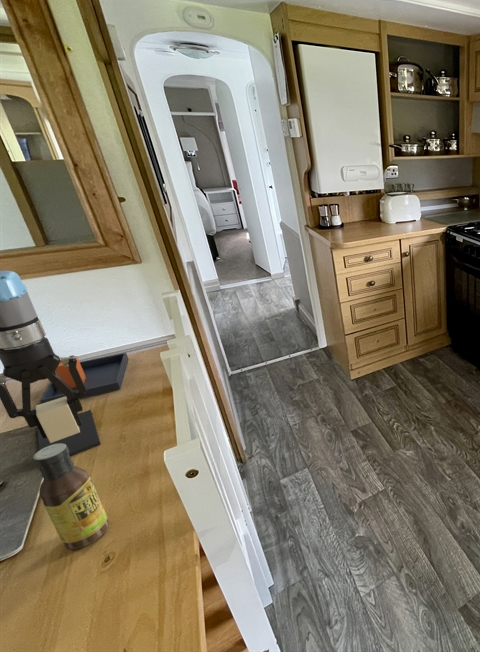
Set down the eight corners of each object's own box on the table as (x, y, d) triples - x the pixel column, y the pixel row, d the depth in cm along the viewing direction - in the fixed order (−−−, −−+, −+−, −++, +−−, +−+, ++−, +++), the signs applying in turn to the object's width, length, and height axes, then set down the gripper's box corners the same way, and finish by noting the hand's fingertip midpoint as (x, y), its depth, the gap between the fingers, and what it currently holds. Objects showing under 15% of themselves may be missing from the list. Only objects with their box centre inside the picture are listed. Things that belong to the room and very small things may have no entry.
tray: (63, 374, 120) (59, 366, 118) (129, 360, 128) (126, 352, 127) (44, 409, 104) (39, 400, 102) (121, 391, 112) (117, 382, 111)
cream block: (78, 422, 93) (65, 396, 90) (80, 432, 90) (67, 404, 87) (48, 433, 90) (35, 405, 87) (50, 443, 87) (36, 415, 84)
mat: (41, 467, 85) (40, 464, 85) (38, 430, 96) (37, 427, 96) (100, 444, 92) (99, 441, 92) (91, 411, 103) (90, 409, 103)
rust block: (64, 383, 114) (53, 360, 111) (86, 378, 117) (77, 355, 114) (59, 391, 110) (49, 368, 107) (83, 386, 113) (73, 363, 110)
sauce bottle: (97, 547, 69) (55, 463, 61) (56, 554, 67) (8, 470, 60) (118, 516, 74) (83, 436, 67) (81, 522, 73) (40, 441, 66)
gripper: (-48, 364, 72) (5, 458, 81) (81, 334, 85) (115, 418, 93) (-45, 351, 77) (5, 441, 86) (77, 324, 89) (110, 405, 98)
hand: (62, 428), depth 89 cm, fingers closed on cream block, 5 cm apart
